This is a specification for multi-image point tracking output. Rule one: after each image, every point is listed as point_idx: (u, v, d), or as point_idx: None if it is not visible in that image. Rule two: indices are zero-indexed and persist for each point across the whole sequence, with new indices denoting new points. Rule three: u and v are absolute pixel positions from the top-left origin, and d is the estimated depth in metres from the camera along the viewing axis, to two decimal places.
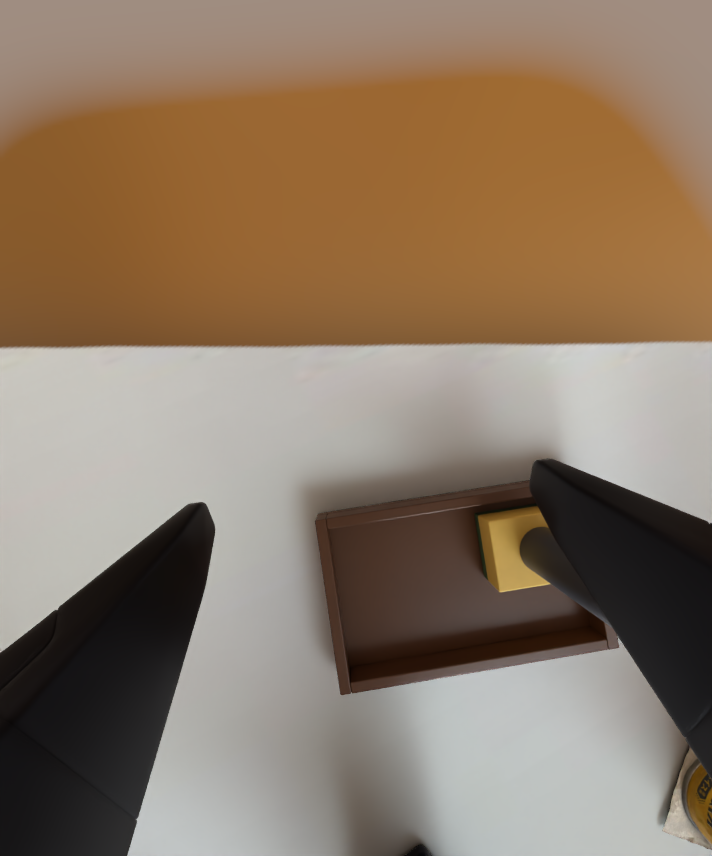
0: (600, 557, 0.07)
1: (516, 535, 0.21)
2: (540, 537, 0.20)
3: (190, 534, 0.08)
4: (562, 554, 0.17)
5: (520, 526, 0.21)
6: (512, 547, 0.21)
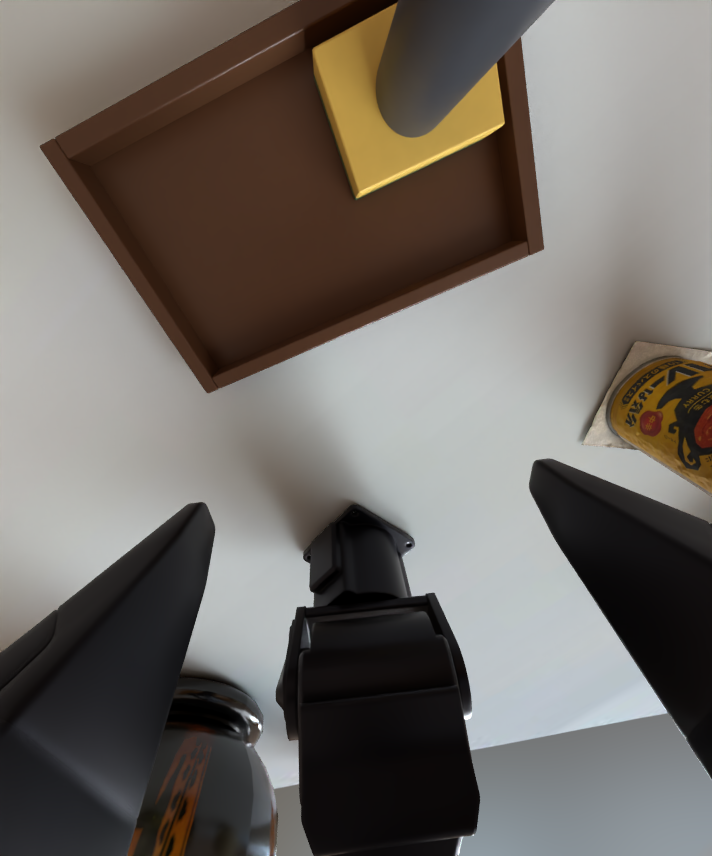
0: (600, 557, 0.07)
1: (366, 67, 0.12)
2: None
3: (190, 534, 0.08)
4: None
5: (371, 43, 0.12)
6: (363, 96, 0.12)
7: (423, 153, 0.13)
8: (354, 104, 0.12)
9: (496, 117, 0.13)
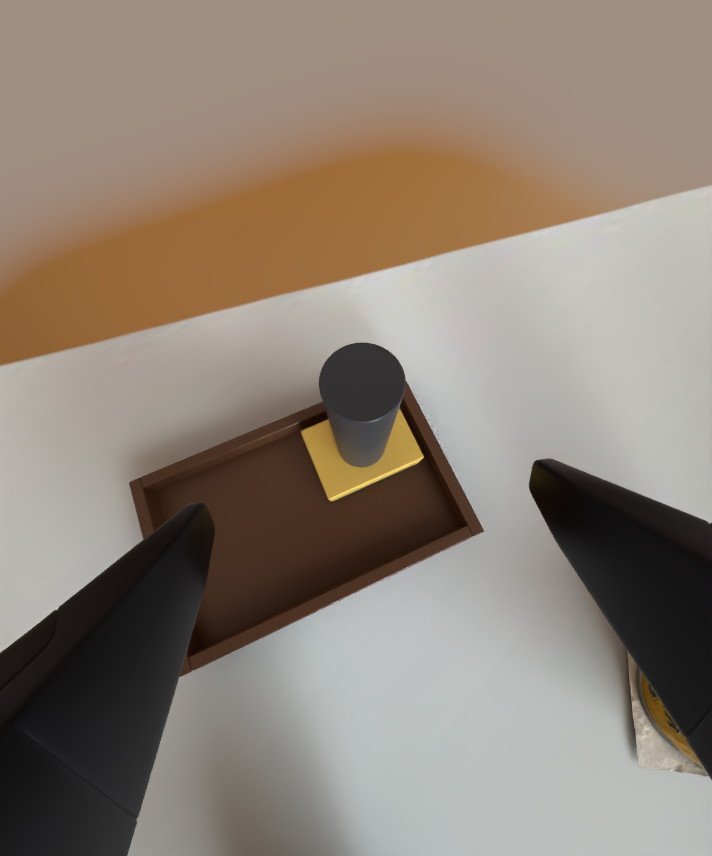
0: (600, 557, 0.07)
1: (331, 436, 0.20)
2: None
3: (190, 534, 0.08)
4: None
5: None
6: (330, 449, 0.20)
7: (371, 475, 0.19)
8: (324, 453, 0.20)
9: (417, 454, 0.20)
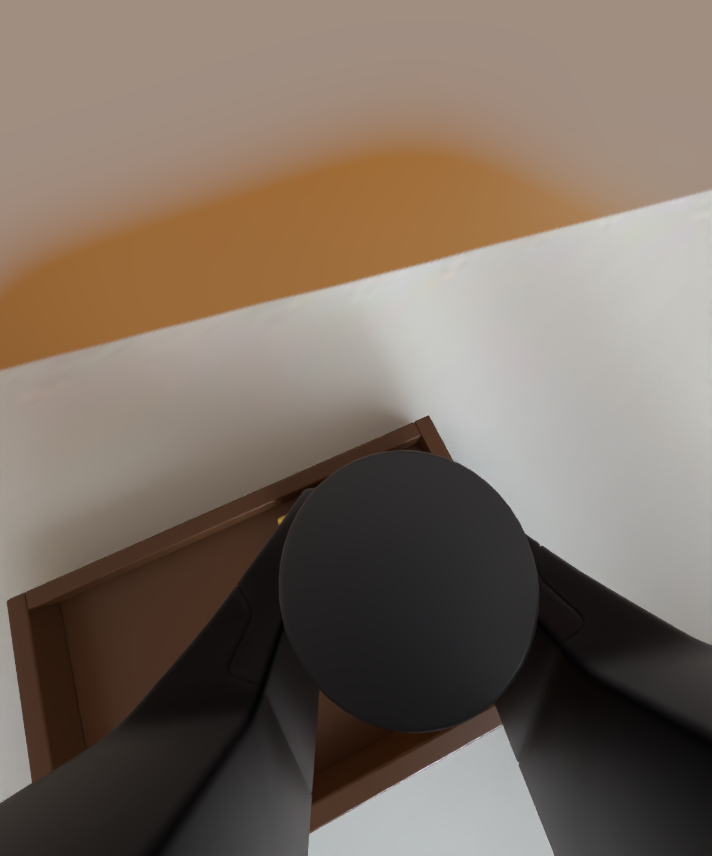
0: None
1: None
2: None
3: None
4: None
5: None
6: None
7: None
8: None
9: None
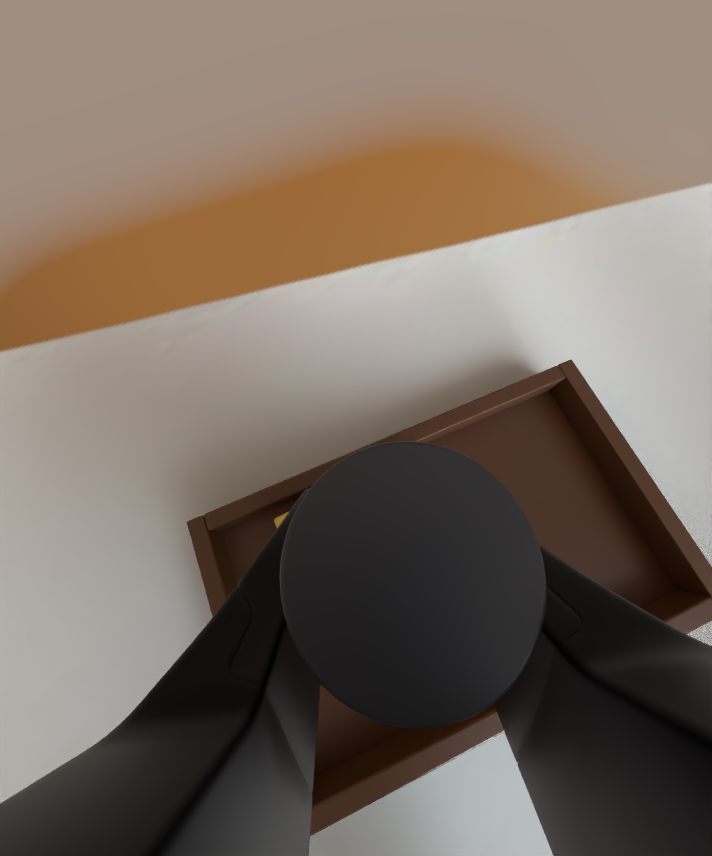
0: None
1: None
2: None
3: None
4: None
5: None
6: None
7: None
8: None
9: None
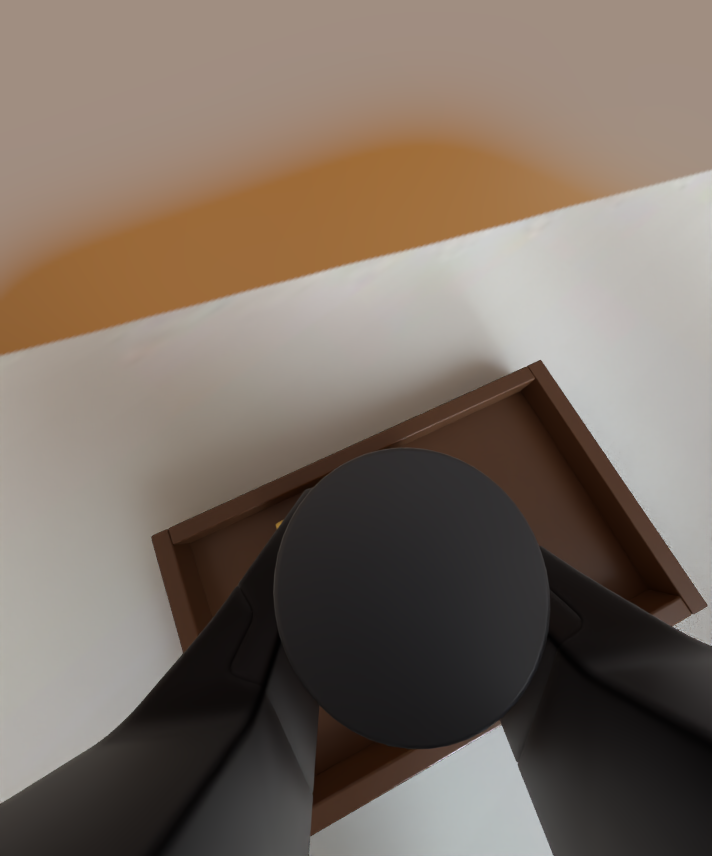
0: None
1: None
2: None
3: None
4: None
5: None
6: None
7: None
8: None
9: None
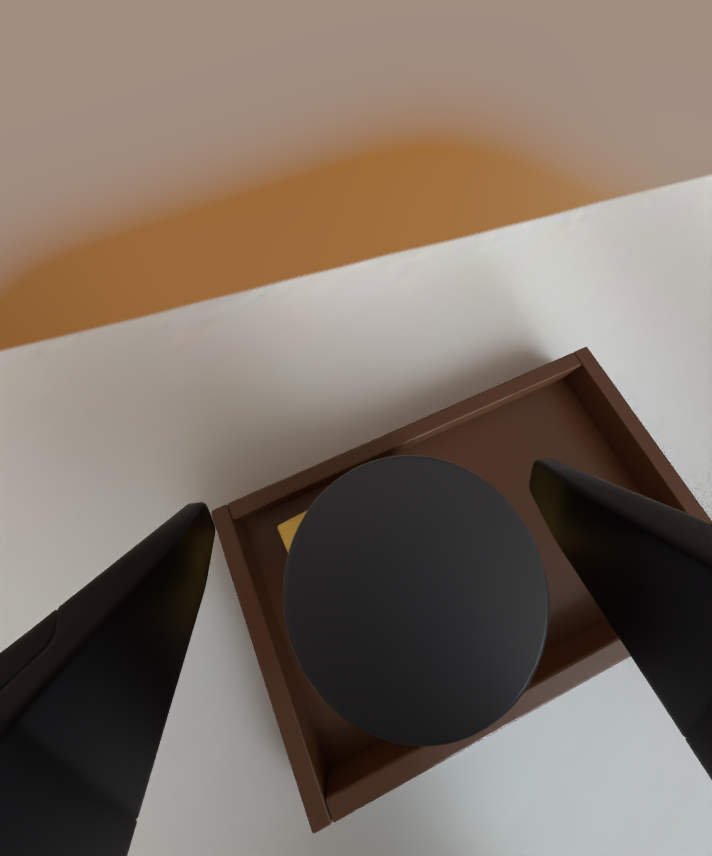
0: (600, 557, 0.07)
1: None
2: None
3: (190, 534, 0.08)
4: None
5: None
6: None
7: None
8: None
9: None
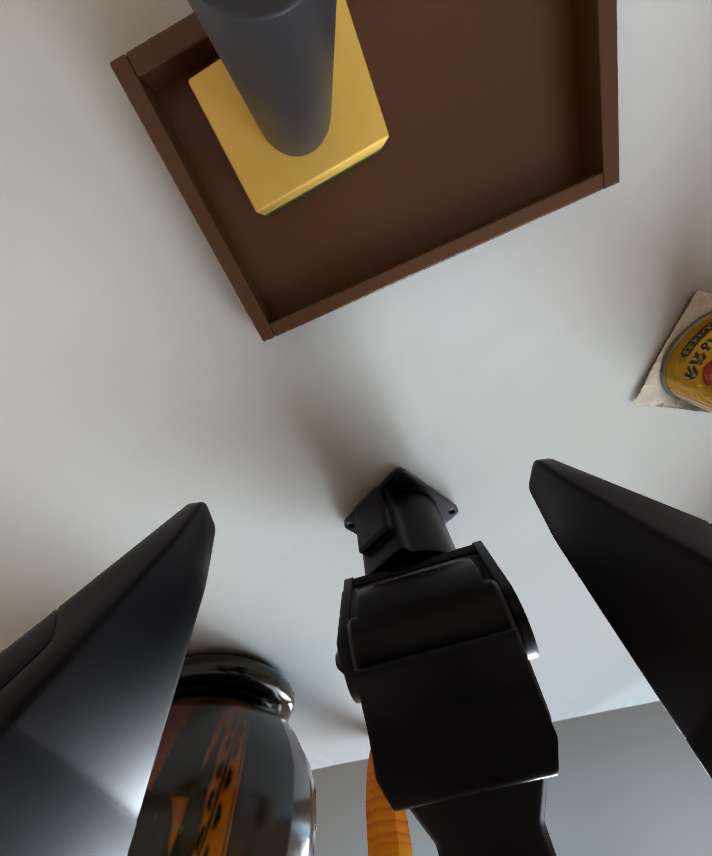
0: (600, 557, 0.07)
1: None
2: None
3: (190, 534, 0.08)
4: None
5: None
6: (245, 121, 0.13)
7: (312, 170, 0.13)
8: (237, 129, 0.13)
9: (379, 131, 0.13)
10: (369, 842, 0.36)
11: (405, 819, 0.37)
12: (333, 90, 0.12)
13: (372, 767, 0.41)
